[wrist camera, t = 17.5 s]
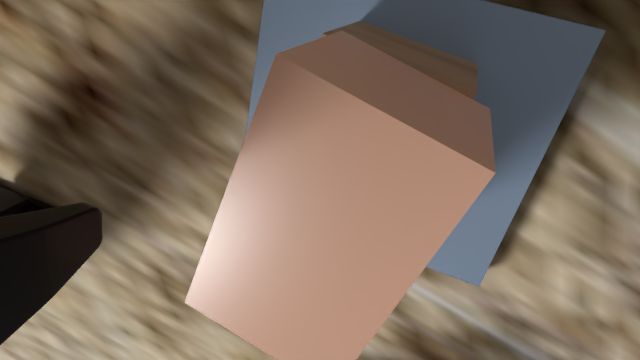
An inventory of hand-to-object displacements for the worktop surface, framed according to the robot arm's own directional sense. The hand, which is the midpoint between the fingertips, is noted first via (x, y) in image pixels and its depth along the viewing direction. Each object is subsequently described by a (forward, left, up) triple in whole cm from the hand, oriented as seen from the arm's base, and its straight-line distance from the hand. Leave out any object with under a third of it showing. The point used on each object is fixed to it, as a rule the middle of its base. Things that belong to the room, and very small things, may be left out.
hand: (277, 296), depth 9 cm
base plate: (0, 0, -13) cm, 13 cm away
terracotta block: (0, 0, -7) cm, 7 cm away
